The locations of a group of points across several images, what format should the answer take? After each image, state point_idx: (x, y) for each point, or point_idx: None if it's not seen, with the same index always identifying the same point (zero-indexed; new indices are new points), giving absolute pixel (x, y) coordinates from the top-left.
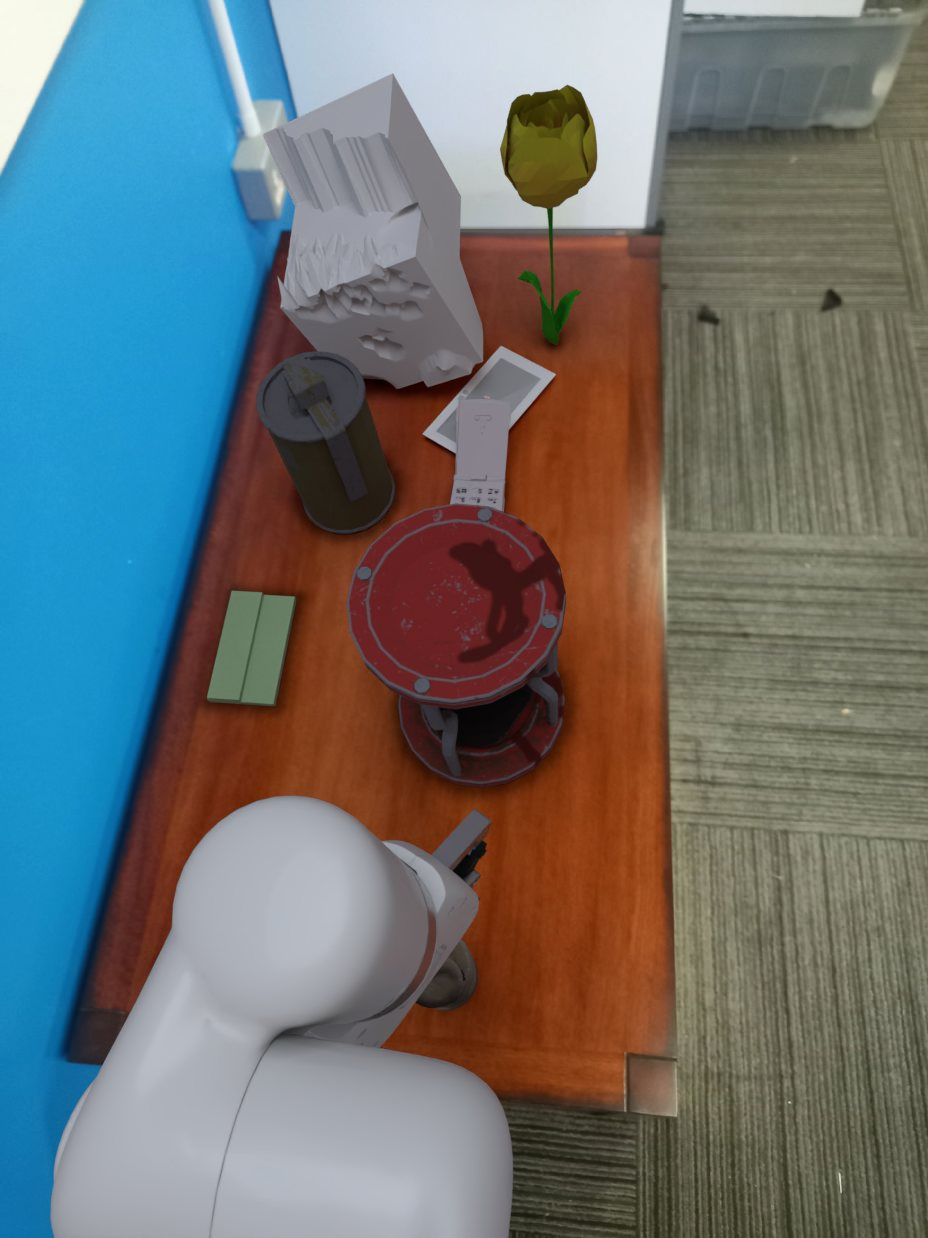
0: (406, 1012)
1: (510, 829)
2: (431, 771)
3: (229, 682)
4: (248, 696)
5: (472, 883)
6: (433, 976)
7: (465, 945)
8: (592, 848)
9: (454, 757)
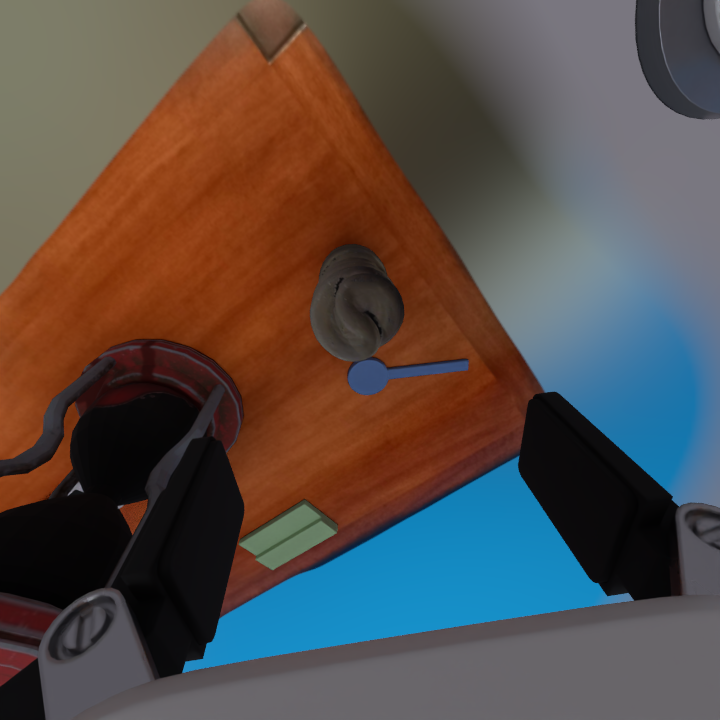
0: (668, 681)
1: (216, 317)
2: (240, 398)
3: (317, 531)
4: (314, 516)
5: (69, 667)
6: (433, 674)
7: (311, 305)
8: (158, 246)
9: (199, 420)
